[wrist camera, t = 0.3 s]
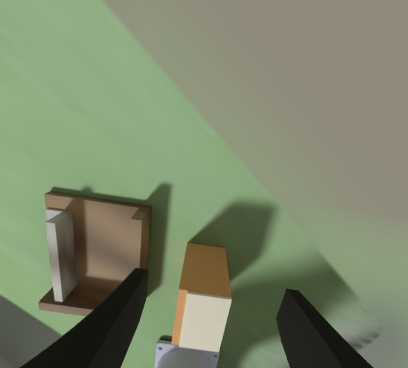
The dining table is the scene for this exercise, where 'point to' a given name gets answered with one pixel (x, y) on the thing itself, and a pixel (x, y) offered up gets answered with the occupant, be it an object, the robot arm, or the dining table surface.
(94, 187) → the dining table surface
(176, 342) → the tan block
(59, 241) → the shelf
